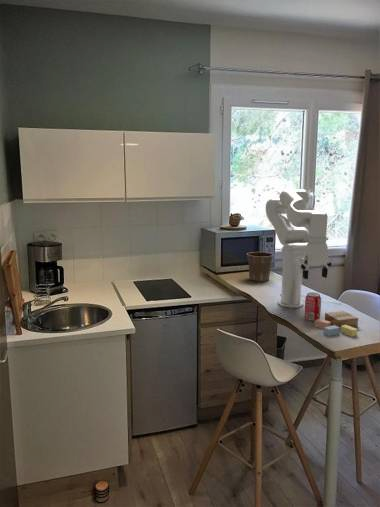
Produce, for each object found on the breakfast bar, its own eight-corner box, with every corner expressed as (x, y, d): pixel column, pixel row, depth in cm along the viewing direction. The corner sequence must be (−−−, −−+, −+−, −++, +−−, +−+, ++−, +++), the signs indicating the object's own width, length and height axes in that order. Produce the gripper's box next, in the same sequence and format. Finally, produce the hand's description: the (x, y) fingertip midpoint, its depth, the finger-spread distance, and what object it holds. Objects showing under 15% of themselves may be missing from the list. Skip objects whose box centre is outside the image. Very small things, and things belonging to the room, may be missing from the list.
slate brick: (328, 336, 184) (329, 329, 184) (323, 334, 187) (323, 327, 186) (339, 334, 187) (339, 327, 186) (334, 331, 190) (334, 325, 189)
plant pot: (241, 277, 282) (242, 252, 278) (264, 275, 286) (265, 251, 283) (252, 283, 266) (253, 257, 263) (276, 281, 271) (278, 255, 268)
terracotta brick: (314, 326, 196) (315, 320, 195) (317, 324, 198) (318, 318, 197) (327, 330, 192) (327, 323, 191) (330, 328, 194) (331, 321, 193)
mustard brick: (340, 332, 189) (340, 325, 188) (345, 331, 190) (345, 324, 190) (352, 337, 184) (352, 330, 183) (356, 335, 185) (357, 328, 185)
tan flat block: (324, 321, 202) (325, 312, 201) (343, 319, 205) (344, 311, 204) (337, 329, 192) (338, 320, 192) (357, 326, 195) (358, 318, 195)
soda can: (317, 316, 208) (318, 292, 206) (322, 322, 201) (323, 296, 199) (302, 316, 208) (303, 292, 205) (306, 322, 201) (308, 296, 199)
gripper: (329, 238, 203) (326, 274, 207) (295, 239, 198) (293, 277, 201) (339, 240, 196) (336, 278, 199) (304, 242, 191) (302, 281, 194)
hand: (314, 277), depth 200 cm, fingers open, 9 cm apart
